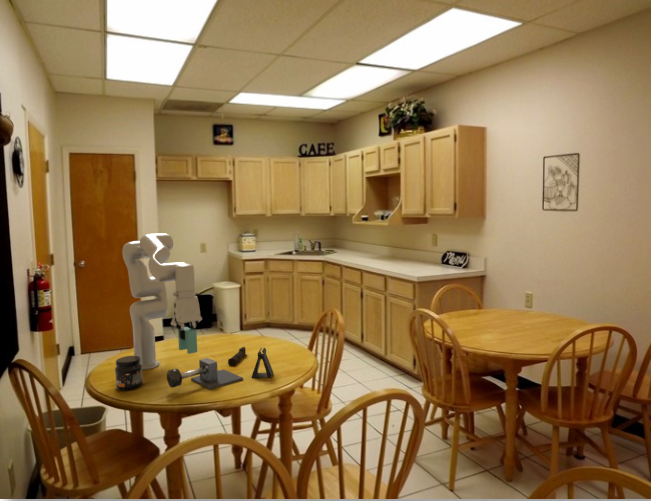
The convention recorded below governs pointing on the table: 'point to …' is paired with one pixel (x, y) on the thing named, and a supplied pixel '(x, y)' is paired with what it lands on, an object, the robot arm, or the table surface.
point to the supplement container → (128, 373)
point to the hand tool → (237, 357)
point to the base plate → (219, 379)
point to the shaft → (181, 376)
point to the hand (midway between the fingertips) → (187, 337)
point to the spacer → (188, 341)
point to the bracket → (209, 370)
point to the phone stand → (266, 363)
